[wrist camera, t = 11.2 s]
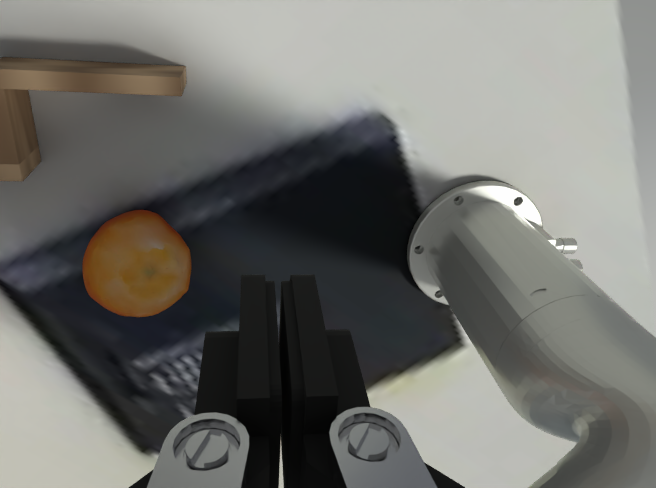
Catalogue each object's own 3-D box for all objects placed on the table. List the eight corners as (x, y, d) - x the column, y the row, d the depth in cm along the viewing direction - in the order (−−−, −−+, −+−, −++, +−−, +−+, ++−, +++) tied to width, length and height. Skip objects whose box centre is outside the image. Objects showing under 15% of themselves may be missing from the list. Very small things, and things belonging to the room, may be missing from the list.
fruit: (47, 254, 42) (64, 273, 35) (125, 189, 44) (155, 196, 38) (117, 320, 46) (145, 349, 39) (186, 257, 48) (222, 274, 42)
